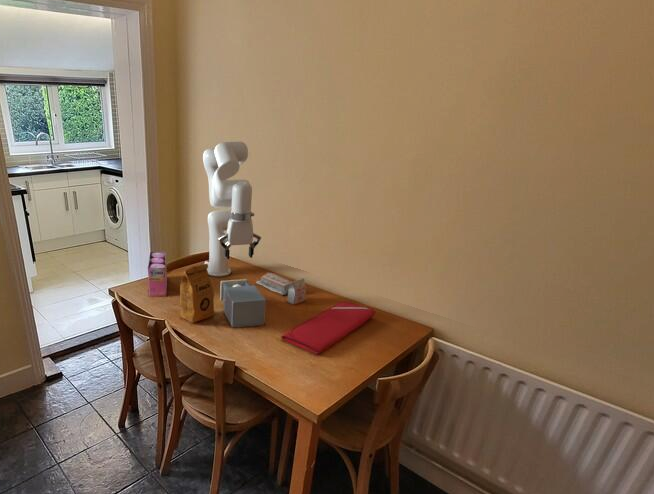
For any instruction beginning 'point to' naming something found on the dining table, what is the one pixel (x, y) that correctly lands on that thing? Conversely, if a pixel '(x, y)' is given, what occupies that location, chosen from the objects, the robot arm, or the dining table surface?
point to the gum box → (157, 274)
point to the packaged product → (275, 283)
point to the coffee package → (196, 294)
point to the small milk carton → (297, 292)
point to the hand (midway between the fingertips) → (239, 257)
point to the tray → (231, 285)
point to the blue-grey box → (244, 306)
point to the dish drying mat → (328, 327)
